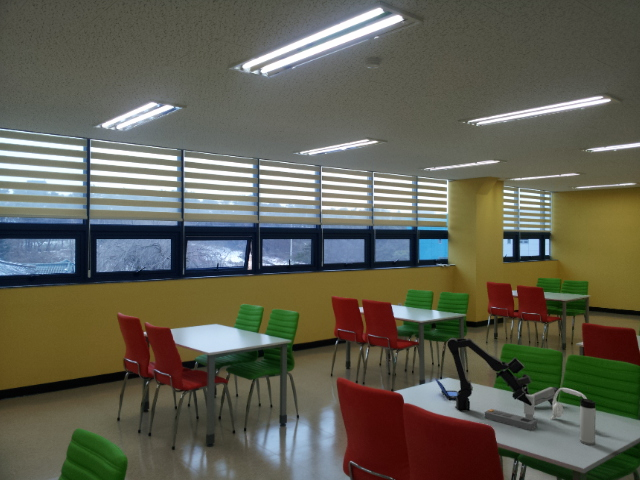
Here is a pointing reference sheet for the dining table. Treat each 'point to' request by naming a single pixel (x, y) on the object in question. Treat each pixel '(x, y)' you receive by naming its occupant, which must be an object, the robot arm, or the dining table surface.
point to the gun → (545, 395)
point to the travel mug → (587, 421)
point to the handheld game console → (447, 392)
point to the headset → (558, 407)
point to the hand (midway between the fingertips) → (532, 403)
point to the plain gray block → (529, 407)
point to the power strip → (511, 419)
